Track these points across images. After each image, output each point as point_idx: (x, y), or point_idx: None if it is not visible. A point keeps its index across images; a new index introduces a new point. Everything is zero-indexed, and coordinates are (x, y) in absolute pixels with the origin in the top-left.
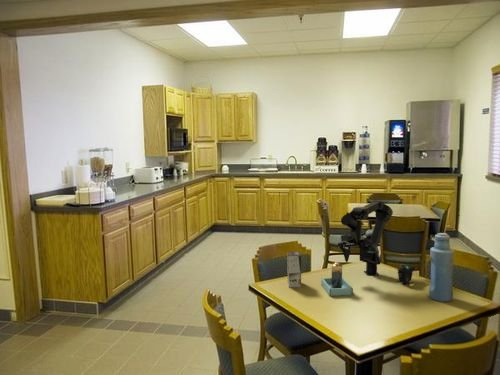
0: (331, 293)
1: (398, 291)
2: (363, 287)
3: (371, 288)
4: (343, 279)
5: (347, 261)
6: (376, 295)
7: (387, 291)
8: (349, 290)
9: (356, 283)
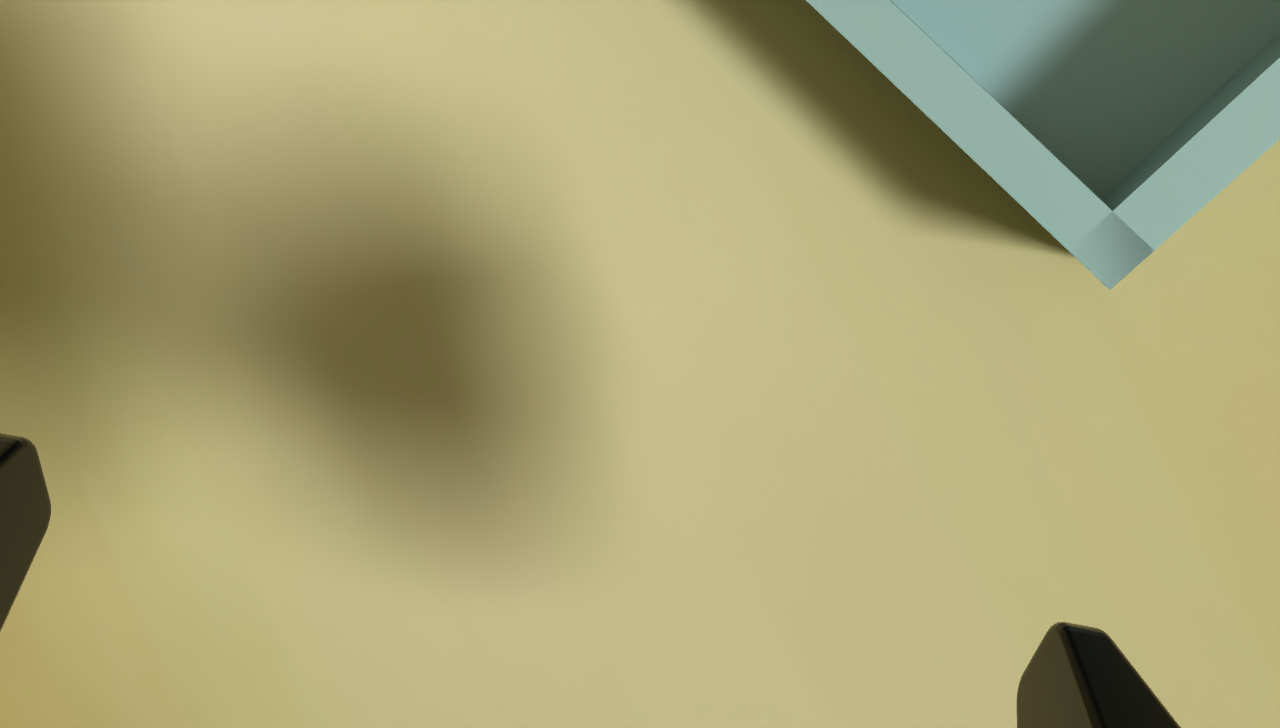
0: None
1: None
2: (558, 370)
3: (406, 419)
4: (979, 103)
5: (1018, 708)
6: (147, 86)
7: (129, 446)
8: None
9: (820, 537)
